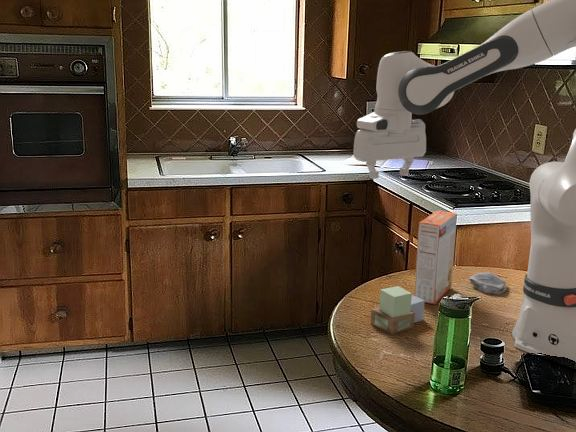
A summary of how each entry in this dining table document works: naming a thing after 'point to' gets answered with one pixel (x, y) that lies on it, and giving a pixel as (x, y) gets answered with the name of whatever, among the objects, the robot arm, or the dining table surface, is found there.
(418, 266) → the cracker box
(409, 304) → the sage green block
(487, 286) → the fossil
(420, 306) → the slate blue block
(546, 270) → the robot arm
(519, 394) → the dining table surface
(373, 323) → the walnut slab
